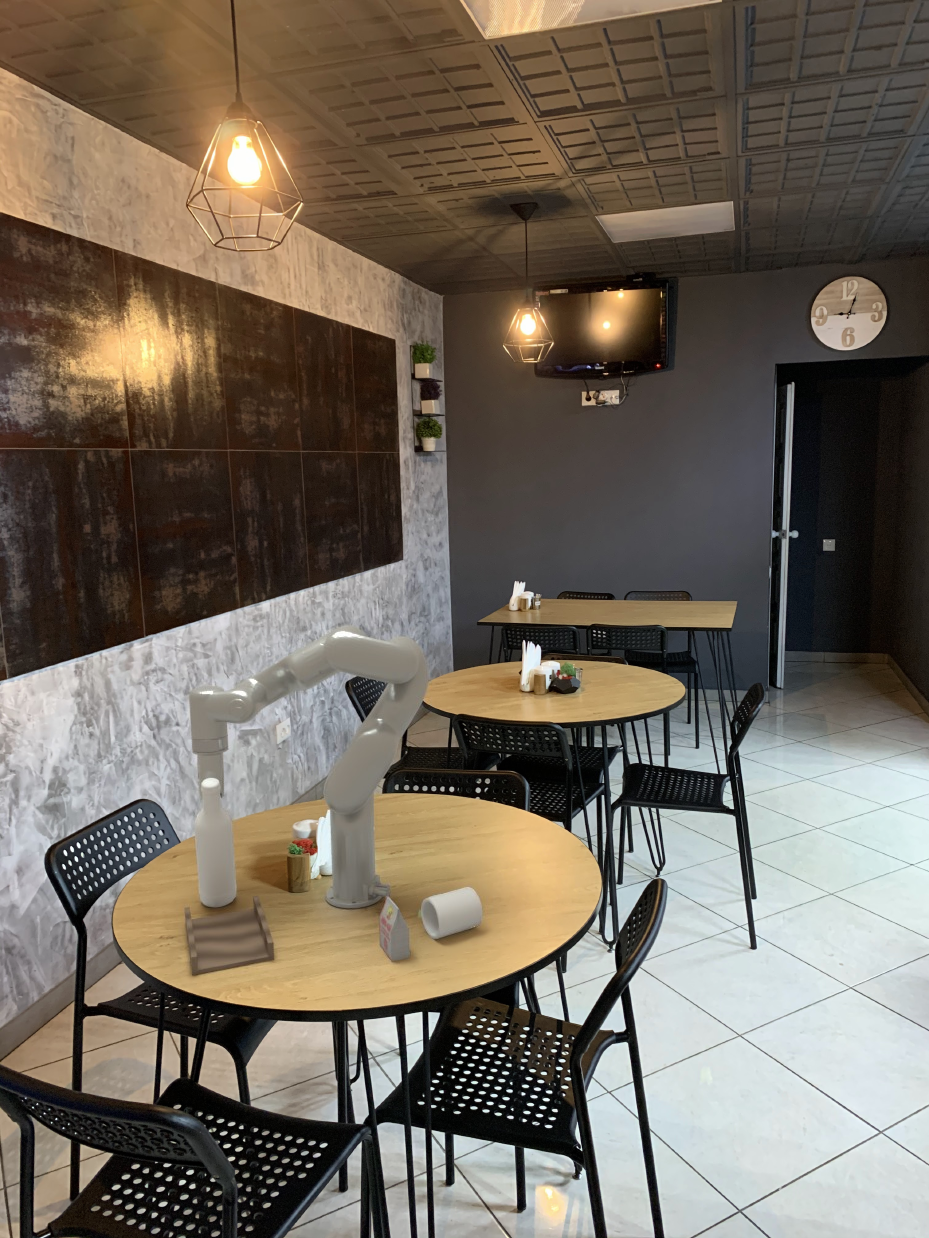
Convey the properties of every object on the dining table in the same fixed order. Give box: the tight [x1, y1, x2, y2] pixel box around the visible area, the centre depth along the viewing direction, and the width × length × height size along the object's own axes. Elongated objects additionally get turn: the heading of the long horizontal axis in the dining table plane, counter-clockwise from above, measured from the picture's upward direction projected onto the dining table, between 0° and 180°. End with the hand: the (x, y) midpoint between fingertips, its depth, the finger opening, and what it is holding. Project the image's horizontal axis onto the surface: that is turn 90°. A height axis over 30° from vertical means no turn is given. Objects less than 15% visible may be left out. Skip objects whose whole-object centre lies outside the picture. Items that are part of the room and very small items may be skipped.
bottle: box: [193, 778, 238, 908], centre depth 188 cm, size 8×8×30 cm
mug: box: [420, 886, 484, 940], centre depth 180 cm, size 12×10×8 cm
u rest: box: [184, 895, 275, 976], centre depth 175 cm, size 22×15×4 cm
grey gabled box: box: [378, 895, 411, 962], centre depth 170 cm, size 4×7×10 cm, turn 24°
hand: (214, 825), depth 192 cm, fingers closed
